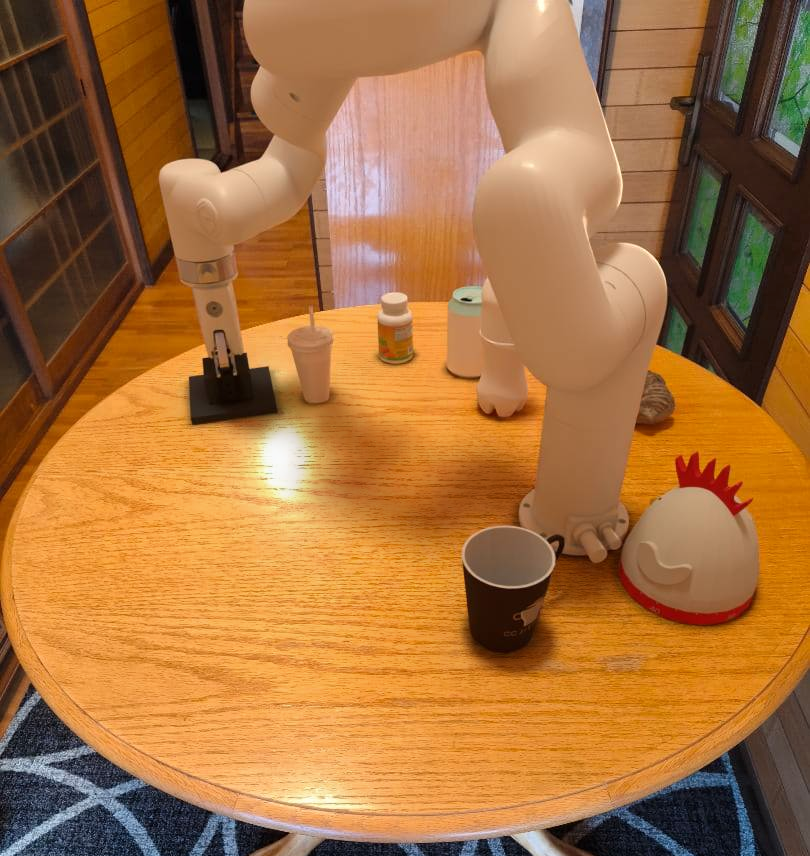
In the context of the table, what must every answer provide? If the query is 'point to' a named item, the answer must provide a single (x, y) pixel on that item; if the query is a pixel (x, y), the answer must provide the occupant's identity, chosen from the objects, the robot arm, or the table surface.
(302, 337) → the smoothie
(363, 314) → the table surface
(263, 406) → the base pad
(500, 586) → the coffee mug
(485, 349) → the water bottle
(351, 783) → the table surface
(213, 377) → the top pad
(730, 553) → the kitchen timer
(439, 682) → the table surface
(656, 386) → the seashell
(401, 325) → the supplement bottle
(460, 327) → the can
